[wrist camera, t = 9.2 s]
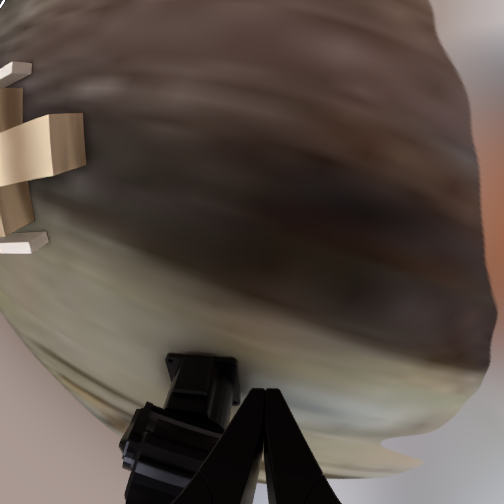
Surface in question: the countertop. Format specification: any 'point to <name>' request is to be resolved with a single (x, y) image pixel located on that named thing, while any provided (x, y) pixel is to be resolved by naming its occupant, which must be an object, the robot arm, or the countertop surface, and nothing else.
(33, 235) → the bracket
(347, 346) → the countertop surface
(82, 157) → the t block
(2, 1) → the wine glass
